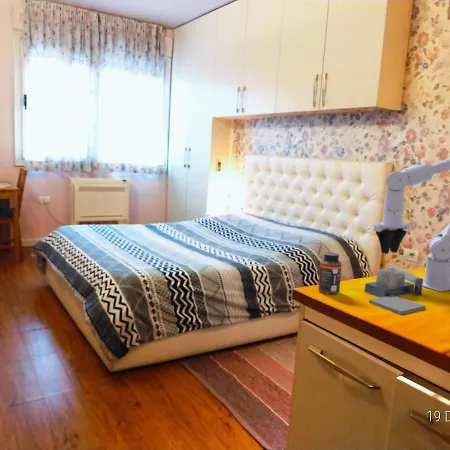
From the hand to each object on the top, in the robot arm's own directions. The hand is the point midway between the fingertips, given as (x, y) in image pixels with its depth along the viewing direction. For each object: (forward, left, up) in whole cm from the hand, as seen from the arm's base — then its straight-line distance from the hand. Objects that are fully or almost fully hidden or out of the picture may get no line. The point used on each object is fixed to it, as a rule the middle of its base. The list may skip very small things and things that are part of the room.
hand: (389, 252), depth 141 cm
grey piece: (+9, +9, -9) cm, 16 cm away
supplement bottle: (+26, +1, -10) cm, 28 cm away
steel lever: (+1, +7, -9) cm, 11 cm away
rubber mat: (+18, +18, -9) cm, 27 cm away
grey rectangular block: (+9, +9, -7) cm, 14 cm away
